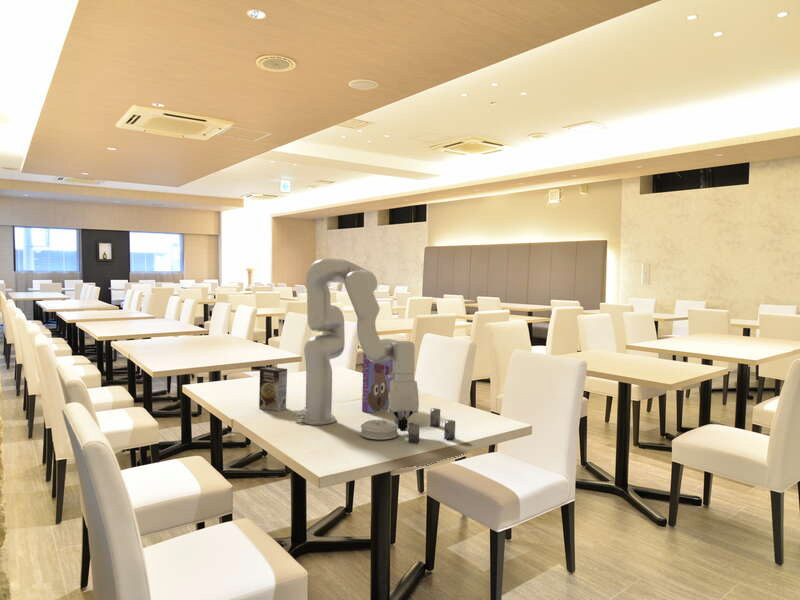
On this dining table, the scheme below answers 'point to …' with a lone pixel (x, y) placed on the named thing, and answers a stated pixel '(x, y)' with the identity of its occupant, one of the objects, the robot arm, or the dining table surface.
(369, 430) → the lid
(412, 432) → the post field
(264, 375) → the coffee box
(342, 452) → the dining table surface
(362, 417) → the dining table surface
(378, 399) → the cereal box
